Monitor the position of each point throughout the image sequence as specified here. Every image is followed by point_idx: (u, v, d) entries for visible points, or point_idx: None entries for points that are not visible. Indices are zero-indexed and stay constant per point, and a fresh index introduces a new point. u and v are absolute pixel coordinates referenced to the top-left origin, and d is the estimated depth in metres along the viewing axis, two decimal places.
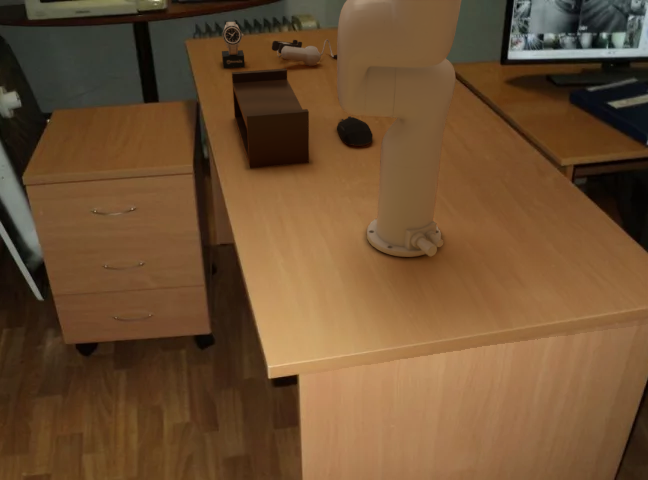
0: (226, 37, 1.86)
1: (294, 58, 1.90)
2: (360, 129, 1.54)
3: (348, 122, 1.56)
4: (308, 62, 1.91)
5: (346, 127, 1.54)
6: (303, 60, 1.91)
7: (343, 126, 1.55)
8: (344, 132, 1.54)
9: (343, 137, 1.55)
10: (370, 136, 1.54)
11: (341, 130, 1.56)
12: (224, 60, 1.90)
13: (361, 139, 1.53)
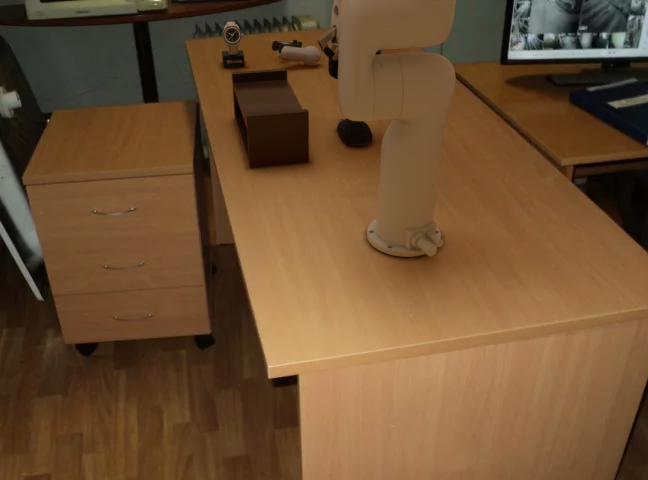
0: (226, 37, 1.86)
1: (294, 58, 1.90)
2: (360, 129, 1.54)
3: (348, 122, 1.56)
4: (308, 62, 1.91)
5: (346, 127, 1.54)
6: (303, 60, 1.91)
7: (343, 126, 1.55)
8: (344, 132, 1.54)
9: (343, 137, 1.55)
10: (370, 136, 1.54)
11: (341, 130, 1.56)
12: (224, 60, 1.90)
13: (361, 139, 1.53)
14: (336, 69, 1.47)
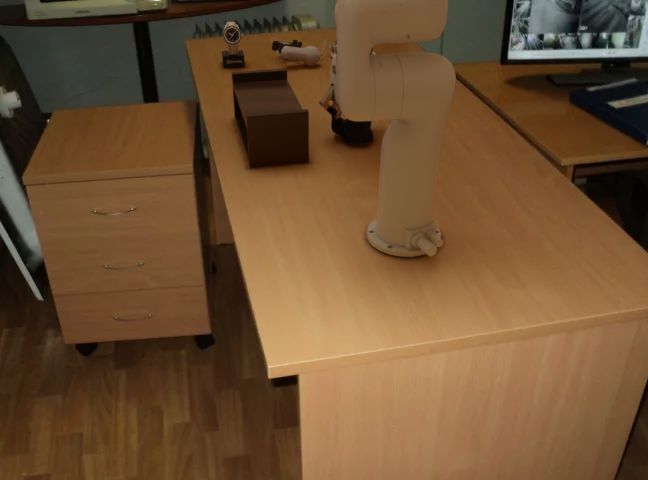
0: (226, 37, 1.86)
1: (294, 58, 1.90)
2: (361, 129, 1.54)
3: (348, 121, 1.56)
4: (308, 62, 1.91)
5: (347, 127, 1.54)
6: (303, 60, 1.91)
7: (344, 126, 1.55)
8: (345, 132, 1.54)
9: (344, 137, 1.55)
10: (371, 136, 1.54)
11: None
12: (224, 60, 1.90)
13: (361, 139, 1.53)
14: (339, 126, 1.55)
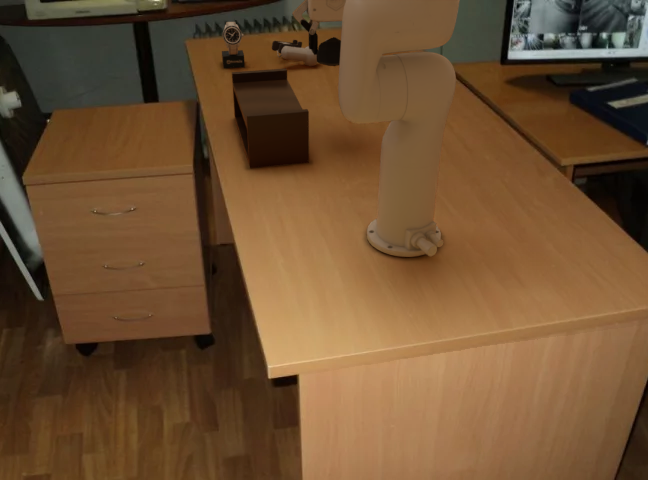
0: (226, 37, 1.86)
1: (294, 58, 1.90)
2: (334, 48, 1.42)
3: (326, 40, 1.45)
4: (308, 62, 1.91)
5: (321, 45, 1.44)
6: (303, 60, 1.91)
7: (320, 44, 1.45)
8: (318, 50, 1.44)
9: None
10: None
11: None
12: (224, 60, 1.90)
13: (331, 58, 1.42)
14: (314, 44, 1.45)
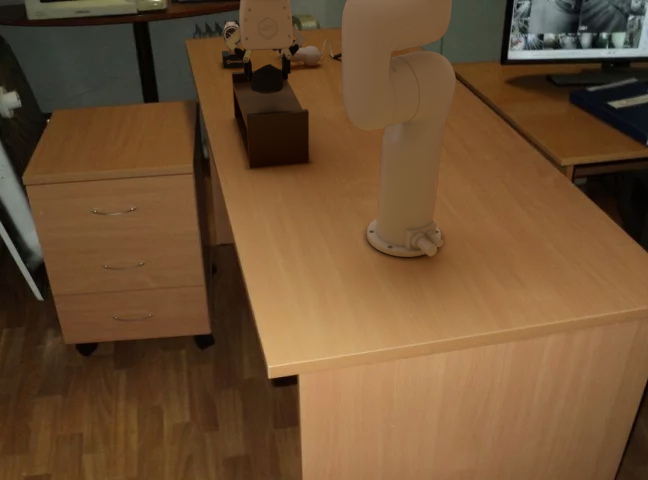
0: (226, 37, 1.86)
1: (294, 58, 1.90)
2: (267, 76, 1.43)
3: (260, 68, 1.46)
4: (308, 62, 1.91)
5: (255, 73, 1.44)
6: (303, 60, 1.91)
7: (254, 72, 1.46)
8: (252, 78, 1.45)
9: None
10: (277, 85, 1.43)
11: None
12: (224, 60, 1.90)
13: (264, 86, 1.43)
14: (248, 71, 1.45)
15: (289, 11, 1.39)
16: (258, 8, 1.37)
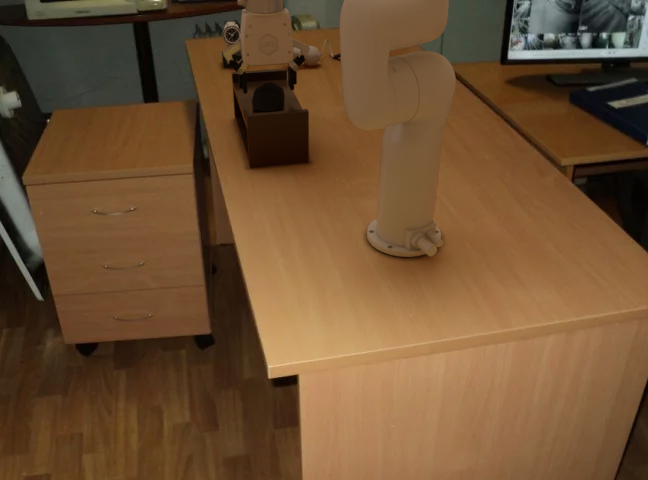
0: (226, 37, 1.86)
1: (294, 58, 1.90)
2: (268, 94, 1.45)
3: (261, 85, 1.48)
4: (308, 62, 1.91)
5: (256, 90, 1.47)
6: None
7: (255, 89, 1.48)
8: (253, 95, 1.47)
9: None
10: (278, 103, 1.45)
11: None
12: (224, 60, 1.90)
13: (265, 104, 1.45)
14: (243, 83, 1.47)
15: (289, 27, 1.41)
16: (258, 24, 1.39)
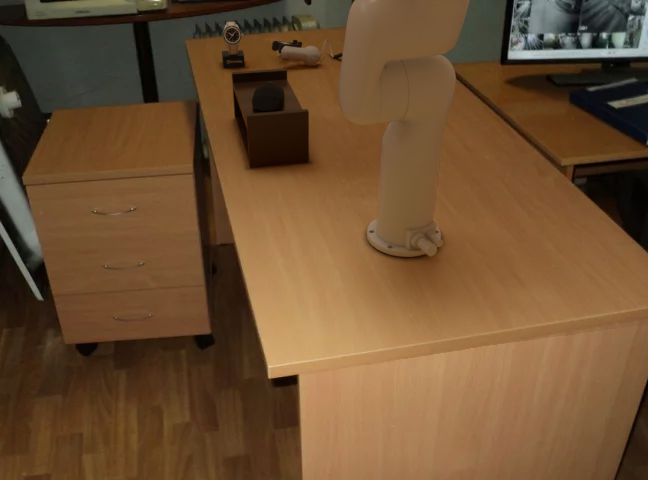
0: (226, 37, 1.86)
1: (294, 58, 1.90)
2: (268, 94, 1.45)
3: (261, 85, 1.48)
4: (308, 62, 1.91)
5: (256, 90, 1.47)
6: (303, 60, 1.91)
7: (255, 89, 1.48)
8: (253, 95, 1.47)
9: None
10: (278, 103, 1.45)
11: None
12: (224, 60, 1.90)
13: (265, 104, 1.45)
14: None
15: None
16: None
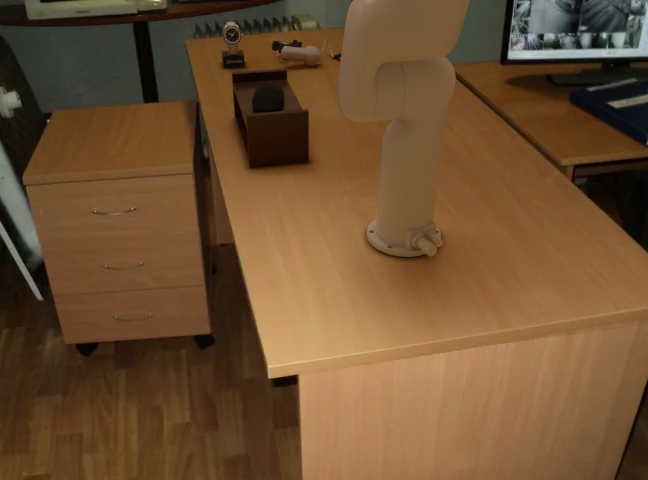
0: (226, 37, 1.86)
1: (294, 58, 1.90)
2: (268, 94, 1.45)
3: (261, 85, 1.48)
4: (308, 62, 1.91)
5: (256, 90, 1.47)
6: (303, 60, 1.91)
7: (255, 89, 1.48)
8: (253, 95, 1.47)
9: None
10: (278, 103, 1.45)
11: None
12: (224, 60, 1.90)
13: (265, 104, 1.45)
14: None
15: None
16: None
